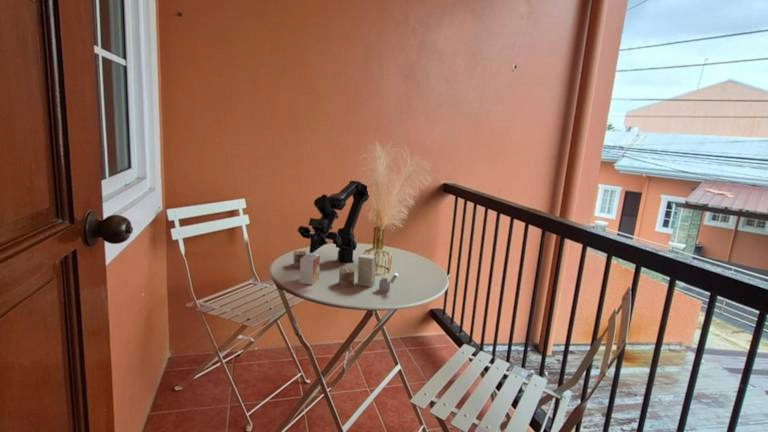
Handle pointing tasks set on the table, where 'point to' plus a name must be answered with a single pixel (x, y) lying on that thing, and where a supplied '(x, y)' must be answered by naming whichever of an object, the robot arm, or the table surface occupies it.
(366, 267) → the skincare box
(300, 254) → the walnut block seven
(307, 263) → the small box
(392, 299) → the table surface
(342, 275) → the walnut block one
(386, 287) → the lighter
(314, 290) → the table surface
